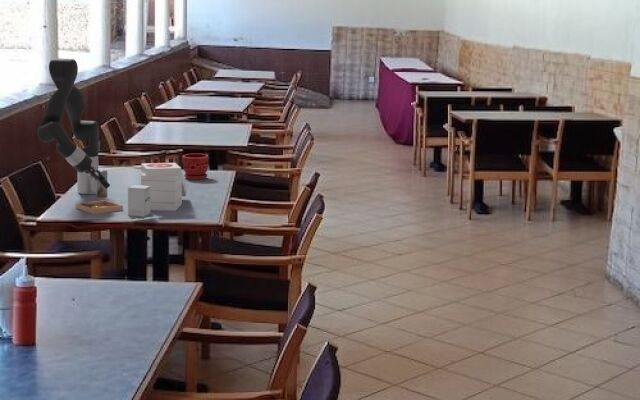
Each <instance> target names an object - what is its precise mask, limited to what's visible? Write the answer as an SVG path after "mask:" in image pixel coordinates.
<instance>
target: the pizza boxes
mask: <svg viewBox="0 0 640 400" xmlns="http://www.w3.org/2000/svg"><path fill="white" fill-rule="evenodd" d="M140 165H141V166H140V169H141V170H140V171H141V172H142V174H141V175H140V185H143V186H150V211H169V212H170V211H173V212H174V211H175V212H176V211H177V210H178V209H179V208H180V207H181V206H182V204H183V203H182V202H183V197H187V194H188V190H187V189H188V188H187V186H186V182H185V178H184V177H185V176H184V175H183V171H182V167H181V166H179V165H178V164H177V162H151V163H150V162H149V163H148V162H147V163H141V164H140Z"/></svg>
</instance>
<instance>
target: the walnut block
mask: <svg viewBox="0 0 640 400" xmlns="http://www.w3.org/2000/svg"><path fill="white" fill-rule="evenodd" d="M91 202H92V201H87V202H86V201H85V202H80V203H81V205H84V206H87V207H90V208H92V206H94V203H91Z"/></svg>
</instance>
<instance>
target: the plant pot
mask: <svg viewBox="0 0 640 400" xmlns="http://www.w3.org/2000/svg"><path fill="white" fill-rule="evenodd" d="M181 157H182V159H181V160H182V162H181V163H182V167H183V171H184V175H183V177H185V178H186V179H187V180H193V181H196V180H197V181H199V180H203V179H206V178H207V177H208V174H207V171H208V169H209V162H210V161H209V155H208V154H207V153H206V154H205V153H187V154H183V155H182V156H181Z"/></svg>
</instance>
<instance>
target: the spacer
mask: <svg viewBox="0 0 640 400" xmlns="http://www.w3.org/2000/svg"><path fill="white" fill-rule="evenodd" d="M98 171H99V172H100V173H101V174H102V176H103V177H105V180H106V181H107V182H108V170H103V169H102V170H101V169H100V170H99V169H98ZM100 179H101V177H100ZM95 195H96V196H95V198H99V199H100V198H101V199H102V198H103V199H104V198H105V199H106V198H108V188H105V187H104V186H103V185H102V184H101V183H99V181H97V180H96V194H95Z"/></svg>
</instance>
